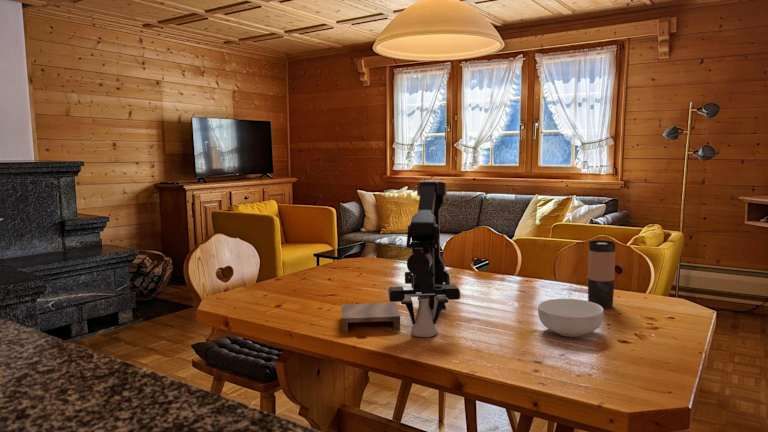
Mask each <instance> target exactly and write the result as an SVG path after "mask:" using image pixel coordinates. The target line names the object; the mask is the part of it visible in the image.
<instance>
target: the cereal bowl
mask: <svg viewBox="0 0 768 432" xmlns="http://www.w3.org/2000/svg"><path fill="white" fill-rule="evenodd" d="M537 306H538V307H537V313H538V317H539V321H540V322H541V324H542V325H543V326H544V327H546V329H548V330H549V331H550V330H551V332H552V331H553V332H555V333H556V334H557V333H558V335H559V334H560V336H562V337H563V336H564V337H568V336H569V337H571V338H572V337H573V338H574V337H575V338H576V337H577V338H578V337H583V336H585V335H587V334H589V333H593V332H594V331H597V330H598V328H600V327H601V325H602V324H603V320H604V314H605V313H604V311H605V309H603V308H602V307H601V306H600V305H598V304H596V303H593V302H589V301H588V300H584V299H583V300H582V299H576V298H555V299H553V298H552V299H548V300H544V301H540V303H539V304H538V305H537Z"/></svg>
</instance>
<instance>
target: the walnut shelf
mask: <svg viewBox="0 0 768 432" xmlns="http://www.w3.org/2000/svg"><path fill="white" fill-rule="evenodd" d="M372 322H373V323H374V322H391V323H392V325H393V326H392V327H393V330H394V331H395V332H396V331H397V332H398V331H401V315H400V312H399V309H398V306H397V302H372V303H371V302H369V303H351V304H350V303H347V304H346V303H345V304H341V333H345V334H346V333H347V334H348V333H349V323H372Z"/></svg>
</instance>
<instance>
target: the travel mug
mask: <svg viewBox="0 0 768 432" xmlns="http://www.w3.org/2000/svg"><path fill="white" fill-rule="evenodd" d="M587 263H588V264H587V265H588V268H587V270H588V271H587V291H588V292H587V301H589V302H593V303H596V304H598V305H600V306H601V307H602V308H603V310H608V309H609V310H610V309H612V308H613V306H614V293H615V292H614V291H615V273H616V272H615V269H616V265H615V263H616V242H614V241H611V240H599V239H598V240H597V239H595V240H590V241H589V242H588V262H587Z"/></svg>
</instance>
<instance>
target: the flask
mask: <svg viewBox="0 0 768 432" xmlns="http://www.w3.org/2000/svg"><path fill="white" fill-rule="evenodd" d="M429 299H430V297H428V296H420V297H417V301H418V307H417V311H416V312H417V313H416V316H415V324H414V325H413V324H412V328H411V330H410V333H409V334H410V335H412V336H415V337H418V338H419V337H421V338H430V337H433V336H436V335H437V333H438V328H437V326H436V323H435V324H434V322H433V315H432V311H431V309H430V308H429Z"/></svg>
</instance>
